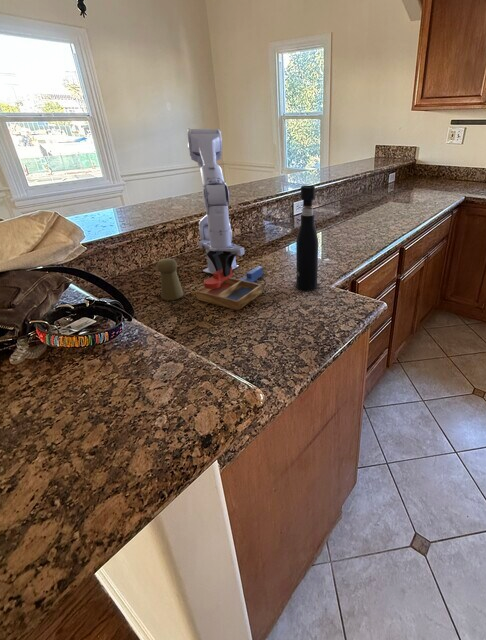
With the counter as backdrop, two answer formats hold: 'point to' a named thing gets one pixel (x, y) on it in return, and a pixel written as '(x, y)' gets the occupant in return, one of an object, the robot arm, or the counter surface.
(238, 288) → the wooden sorting tray
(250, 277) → the blue spoon
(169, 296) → the olive green pawn
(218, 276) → the red spoon
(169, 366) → the counter surface
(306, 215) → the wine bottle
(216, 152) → the robot arm
